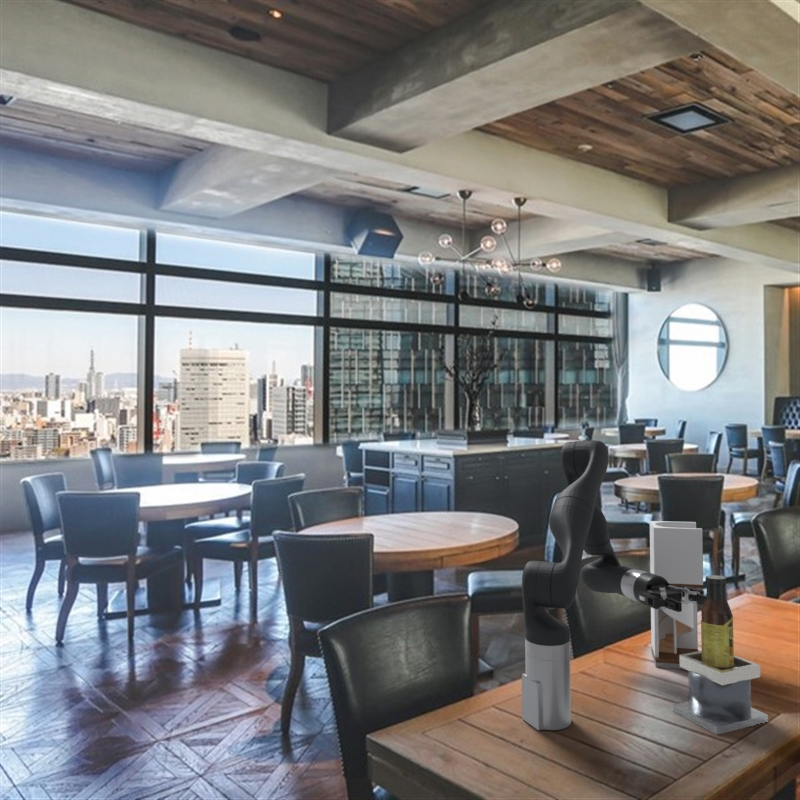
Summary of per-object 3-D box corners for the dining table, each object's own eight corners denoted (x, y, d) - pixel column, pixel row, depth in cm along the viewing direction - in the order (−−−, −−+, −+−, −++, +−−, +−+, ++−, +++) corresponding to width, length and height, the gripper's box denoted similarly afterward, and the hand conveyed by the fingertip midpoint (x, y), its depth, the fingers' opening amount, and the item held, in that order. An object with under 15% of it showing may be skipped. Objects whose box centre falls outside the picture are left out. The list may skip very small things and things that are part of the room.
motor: (717, 734, 145) (716, 674, 145) (673, 711, 156) (672, 655, 156) (768, 722, 150) (767, 664, 150) (722, 700, 161) (721, 646, 161)
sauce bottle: (737, 678, 149) (736, 581, 150) (705, 676, 151) (704, 580, 151) (729, 666, 156) (728, 574, 156) (698, 665, 157) (697, 573, 157)
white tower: (655, 667, 182) (653, 527, 182) (651, 652, 192) (649, 520, 193) (704, 670, 179) (702, 528, 180) (697, 655, 190) (695, 522, 190)
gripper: (620, 575, 171) (670, 591, 156) (667, 569, 177) (720, 584, 162) (620, 607, 171) (670, 626, 156) (668, 600, 177) (720, 618, 161)
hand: (695, 605), depth 159 cm, fingers open, 8 cm apart
